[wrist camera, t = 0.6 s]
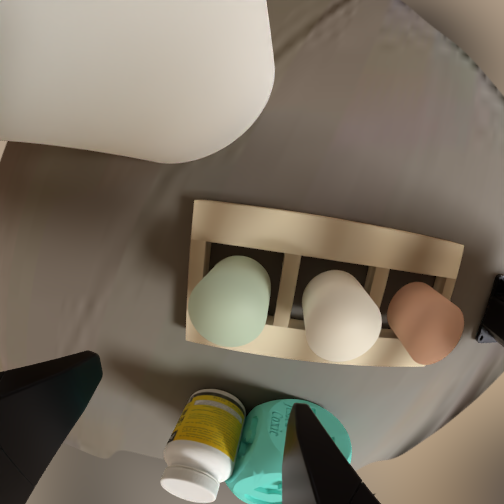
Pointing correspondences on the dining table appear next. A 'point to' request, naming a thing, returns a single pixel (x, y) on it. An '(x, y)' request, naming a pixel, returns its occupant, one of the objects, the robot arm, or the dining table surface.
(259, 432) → the turquoise rounded piece
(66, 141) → the canister
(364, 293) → the button cream
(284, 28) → the dining table surface
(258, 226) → the three-slot wooden rack
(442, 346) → the button terracotta
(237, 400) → the supplement bottle
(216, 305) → the button sage
